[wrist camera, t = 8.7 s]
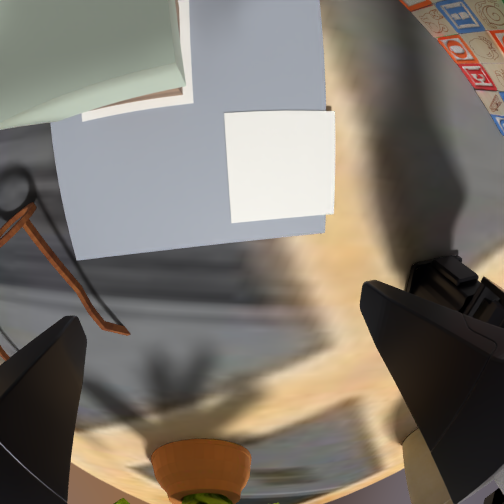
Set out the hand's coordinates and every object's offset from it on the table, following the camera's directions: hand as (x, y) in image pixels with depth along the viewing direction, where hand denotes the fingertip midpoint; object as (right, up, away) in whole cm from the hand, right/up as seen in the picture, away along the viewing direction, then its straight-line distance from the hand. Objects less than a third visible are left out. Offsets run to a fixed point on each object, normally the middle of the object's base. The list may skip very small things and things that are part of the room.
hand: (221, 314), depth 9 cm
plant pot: (+31, -30, +34) cm, 55 cm away
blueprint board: (-3, +11, +8) cm, 14 cm away
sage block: (-5, +11, +1) cm, 12 cm away
